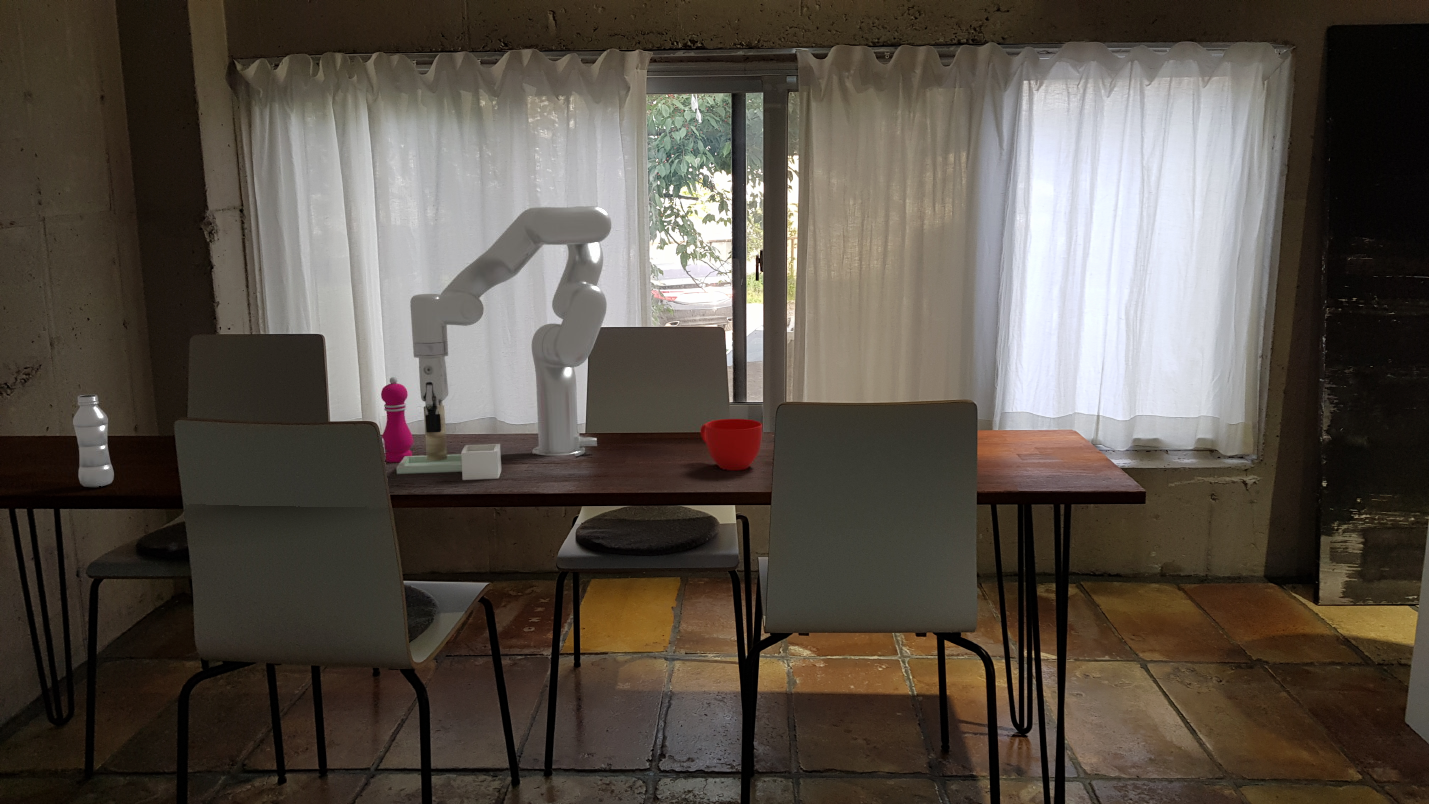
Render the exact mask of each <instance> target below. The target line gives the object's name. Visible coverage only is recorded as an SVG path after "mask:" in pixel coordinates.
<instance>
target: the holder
mask: <svg viewBox="0 0 1429 804" xmlns="http://www.w3.org/2000/svg"><path fill="white" fill-rule="evenodd" d="M460 454H461V458H462V472H461V473H462V474H461V475H462V481H466V480H467V481H468V480H469V481H470V480H472V481H473V480H495V479H500V475H501V473H502V458H501V457H502V455H501V454H502V453H501V443H490V444H488V443H486V444H466V445H464V447H463V448H462V451H461V453H460Z"/></svg>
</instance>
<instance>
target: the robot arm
mask: <svg viewBox="0 0 1429 804" xmlns="http://www.w3.org/2000/svg"><path fill="white" fill-rule="evenodd" d="M611 230H612V220H611V217H610V215H609V214H608V212H607V211H606V210H605V209H604V208H601V207H600V206H597V205H596V206H595V205H593V206H592V205H591V206H589V205H587V206H583V205H582V206H573V207H572V206H571V207H569V206H568V207H559V206H558V207H556V206H555V207H554V206H553V207H552V206H545V207H544V206H541V207H540V206H538V207H529V208H527V209H525V210H524V211H522V212H521V213H520V214H519V215H518V216H517V217H516V218H515V220H514V221H513V222H512V223H511V224H510V225H509V226H508V227H507V228H506V230H505V231H503V232H502V233H501V235H500V236H499V237H498V238H497V239H496V240H495V242H494V243H493V244H492V245H491V246H490V247H489V248H488V249H487V250H486V251H485V252H483V253H482V254H481V255H480V256H478V257H477V258H475V259H474V260H473V261H472V262H471V263H470V264H469V265H467V266H466V267H465V268H464V269H463V270H462V271H460V272H459V273H458V274H457V275H456V276H455V277H454V278H453V279H452V280H451V281H450V283H448V285H447V286H446V287H445V288H444V289H443V290H442V291H441V292H440V293H421V294H420V293H419V294H414V295H413V296H412V297H411V298H410V302H409V303H410V307H409V308H410V319H411V334H412V335H411V336H412V351H413V358H417V359H418V371H419V372H418V373H419V388H420V389H419V391H420V398H421V401H422V402H425V404H424V405H425V411H426V415H425V419H426V432H428V433H429V432H440V431H441V418H440V414H439V405H444V404H443V403H444V402H443V401H445V399H446V398H447V397H448V396H449V385H448V372H447V366H446V358H445V357H448V356H449V346H448V345H449V344H448V327H447V326H448V325H449V326H460V327H461V326H462V327H464V326H465V327H466V326H468V327H469V326H472V325H474V324H476V323H478V322H479V321H480V320H481V319H482V317H483V315H484V312H485V311H484V310H485V308H484V304H483V302H482V300H481V297H482V296H483V295H484V294H485V293H486V292H488V291H489V290H491V289H492V288H494V287H495V286H497V285H500V284H502V283H504V282H505V283H506V282H507V281H509V280H511V279H513V278H514V277H516V276H517V275H518V274H519V273H520V272H521V270H522V269H523V268H525V266H526V265H527V264H528V262H530V260H531V259H532V258H533V257H535V255H536V253H538V251H539V250H540V249H541V248H542V247H543V246H544V245H545V246H547V245H548V246H550V245H552V246H555V245H556V246H557V245H563V246H564V245H565V246H567V251H568V255H567V260H566V261H567V262H566V265H565V268H564V270H563V272H562V275H561V277H560V280H559V282H558V285H557V287H556V290H555V292H554V295H553V297H552V301H551V302H552V303H551V306H552V307H551V308H552V310H553V313H554V314H555V315H556V316H557V317H558V318H559V319H561V320H562V321H561V323H546V324H544V325H541V326H540V327H539V328H538V329H537V330H536V331H535V332H534V334H533V336H532V339H531V353H532V359H533V365H534V371H535V382H536V383H535V385H536V409H537V433H538V446H536V447H534V448H533V449H532V454H536V455H540V456H549V457H550V456H551V457H552V456H554V457H555V456H556V457H557V456H559V457H561V456H569V455H574V457H579V456H581V455H584V453H585V452H586V448H585V446H589V447H598V444H597V443H598V442H597V441H598V440H597V439H598V438H597V437H592V436H588V437H584V436H580V432H579V428H578V427H579V426H578V398H577V397H578V396H577V394H578V393H577V375H576V371H575V368H577V367H579V366H581V365H582V364H584V363H585V362H586V361H587V359H588V358H589V356H590V354H591V352H592V350H593V349H594V345H595V343H596V341H597V338H598V336H599V333H600V330H601V328H602V325H603V323H604V321H605V317H606V315H607V298H606V295H605V293H604V292H603V290H602V289H601V288H600V287H599V286H597V285H598V283H599V279H600V276H601V274H602V271H603V265H604V252H603V248H602V245H601V242H603V241H604V240H606V238H608V236H609V235H610V233H611ZM435 405H436V406H435Z"/></svg>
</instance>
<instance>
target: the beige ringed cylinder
mask: <svg viewBox="0 0 1429 804" xmlns="http://www.w3.org/2000/svg"><path fill="white" fill-rule="evenodd" d="M435 406H436V405H435ZM439 414H440V418H441V431H440V432H429V433H428V432H426V419H425V415H426V411H425V406H423V420H424V422H423V423H424V433H425V434H424V436H425V451H426V452H425V453H426V455H425V456H427V460H430V461H439V460H444V459H447V455H448V449H447V447H448V446H447V434H446V433H447V432H446V431H447V430H446V415H445V405H444V404H443V405H439Z"/></svg>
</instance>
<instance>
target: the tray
mask: <svg viewBox="0 0 1429 804" xmlns="http://www.w3.org/2000/svg"><path fill="white" fill-rule="evenodd" d="M458 472H460V473H462V458H461V453H457V454H455V453H454V454H447V459H444V460H439V461H430V460H427V455H412V456H405V457H404V458H403V460H402V461H401V462H398V464H397V466H396V475H409V474H410V475H411V474H412V475H413V474H433V473H434V474H437V473H458Z"/></svg>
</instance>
